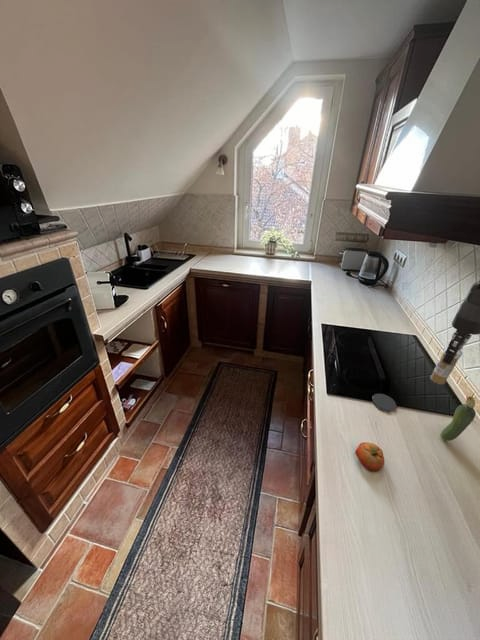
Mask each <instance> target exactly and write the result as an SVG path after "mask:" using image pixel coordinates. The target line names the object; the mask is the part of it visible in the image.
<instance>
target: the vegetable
mask: <svg viewBox="0 0 480 640" xmlns="http://www.w3.org/2000/svg"><path fill="white" fill-rule="evenodd" d="M475 407H476V400H475V397H473V396H472V395H469V396H467V397H466V401H465V403H462V404H459V405H457V407H456V408H455V410H454V413H453V417H452V420H451V421H450V423H449V424H448V425H446V427H444V429H443V430H442V431H441V432H440V434H439V435H440V438H441V440H442V441H444V442H445V441H449V442H450V441H453V440H455V439H457V438H458V437H459V436H460V435H461V434H462V433H463V432H465V430H467V428H468V427H469V426H470V425H471V423H472V422H473V421H474V419H475V417H476V413H477V412H476V410H475Z"/></svg>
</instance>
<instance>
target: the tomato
mask: <svg viewBox="0 0 480 640" xmlns="http://www.w3.org/2000/svg"><path fill="white" fill-rule="evenodd" d="M354 453H355V455H356V457H357V459H358V460H359V463H361V465H362V466H363V467H364V468H366V469H367V470H368V471H370V472H371V473H372V472H373V473H374V472H378V471H380V470H381V469H382V468H383V466H384V465H385V461H386V460H385V457H384V452H383V450H382V449H381V448H380V446H379V445H376V444H375V443H372V442H360V443H359V444H358V446H357V447H356V450H355V451H354Z"/></svg>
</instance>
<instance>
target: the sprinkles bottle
mask: <svg viewBox="0 0 480 640" xmlns="http://www.w3.org/2000/svg"><path fill="white" fill-rule="evenodd" d="M447 348H448V346H446V347H445V348H444V349H443V353H442V355H441V356H440V359H439V360H438V362H437V364H436V366H435V367H434V369H433V371H432V374H431V375H430V376H429V379H430V380H431V381H432V382H433V383H435V384H437V385H445V384H446V381H447V380H448V378H449V377H450V375H451V374H452V372H453V370H454V369H455V367H456V364H457V363H458V361H459V360H460V358H461V357H462V355H463V351H462V349H461V350H459V351H458V352H457V355H456V356H455V357H454V359H453V361H452V362H451V364H450V365H448V364H446V363H444V362H442V361H443V359H444V357H445V355H446V353H445V351H446V350H447ZM451 351H452V350H451ZM453 352H454V351H453Z"/></svg>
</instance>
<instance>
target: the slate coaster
mask: <svg viewBox="0 0 480 640" xmlns="http://www.w3.org/2000/svg"><path fill="white" fill-rule="evenodd" d="M371 402H372V404H373V405H374V407H376V408H377V409H378V410H381V411H382V412H387V413H391V412H394V411H395V410H396V409H397V403H396V401H395V400H394V399H393V398H392V397H391V396H389V395H386V394H384V393H375V394H373V395H372V397H371Z"/></svg>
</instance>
